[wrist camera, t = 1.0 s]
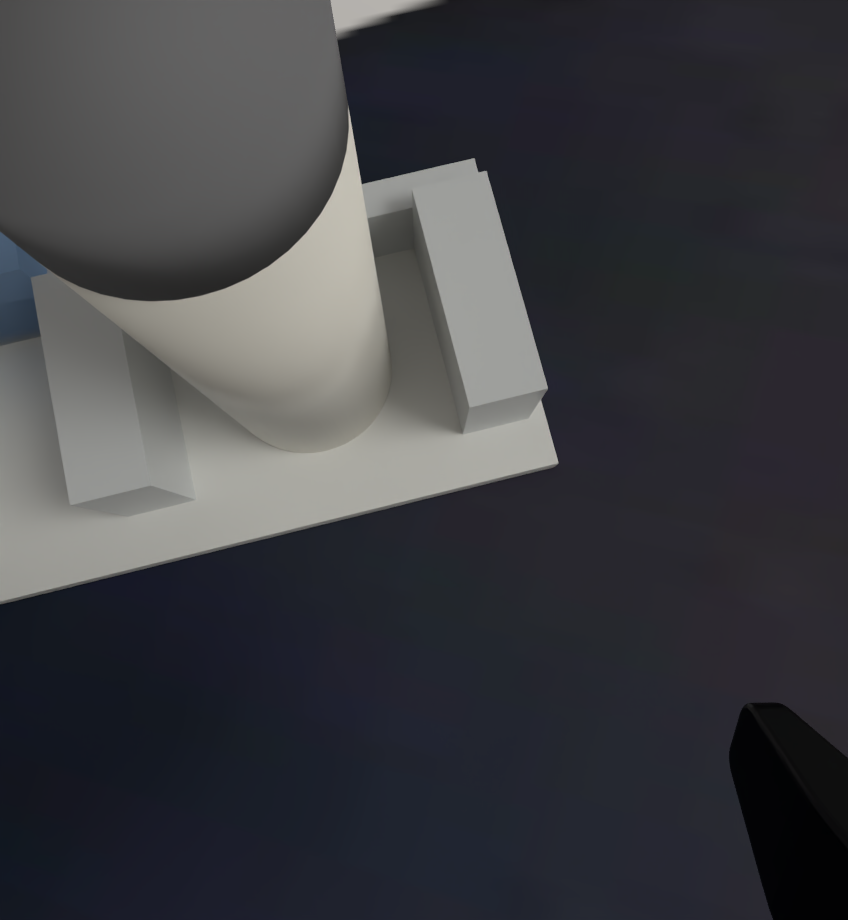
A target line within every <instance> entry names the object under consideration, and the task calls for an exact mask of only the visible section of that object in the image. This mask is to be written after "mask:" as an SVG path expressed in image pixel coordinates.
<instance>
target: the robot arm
mask: <svg viewBox="0 0 848 920" xmlns="http://www.w3.org/2000/svg"><path fill="white" fill-rule="evenodd" d="M729 763H730V769H731V773H732V777H733V781H734V784H735V788H736V792H737V795H738V799H739V802H740V806H741V810H742V813H743V817H744V821H745V824H746V828H747V832H748V835H749V839H750V843H751V846H752V850H753V853H754V857H755V861H756V864H757V868H758V872H759V875H760V879H761V883H762V886H763V889H764V893H765V896H766V900H767V903H768V906H769V909H770V912H771V915H772V918H773V920H848V758H847V757H846V756H845V755H843V754H842V753H841V752H840V751H839V750H838V749H836V748H835V747H834V746H833V745H832V744H830V743H829V742H828V741H827V740H826V739H825V738H823V737H822V736H821V735H820V734H819V733H818V732H816V731H815V730H814V729H813V728H812V727H810V726H809V725H808V724H807V723H806V722H805V721H803V720H802V719H801V718H800V717H799V716H798V715H796V714H795V713H794V712H793V711H792V710H790V709H789V708H788V707H786V706H784V705H783V704H780V703H749V704H746V705H745V706H744V707H743V708H742V710H741V712H740V715H739V719H738V722H737V726H736V729H735V733H734V736H733V739H732V743H731V746H730V751H729Z"/></svg>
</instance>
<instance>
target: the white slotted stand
mask: <svg viewBox="0 0 848 920" xmlns="http://www.w3.org/2000/svg"><path fill="white" fill-rule="evenodd" d="M362 190H363V196H364V202H365V208H366V214H367V220H368V225H369V231H370V237H371V243H372V249H373V255H374V261H375V267H376V273H377V278H378V284H379V290H380V296H381V302H382V308H383V314H384V320H385V325H386V331H387V337H388V343H389V349H390V355H391V361H392V378H391V385H390V389H389V394H388V396H387V399H386V401H385V404H384V406H383V408H382V409H381V411H380V413H379V414H378V416H377V417H376V419H375V420H374V421H373V423H372V424H371V425H370V426H369V427H368V428H367V429H366V430H365V431H364V432H362V433H361V434H360V435H359V436H358V437H356V438H354V439H353V440H351V441H350V442H348V443H346V444H344V445H342V446H339V447H337V448H334V449H331V450H328V451H322V452H317V453H296V452H290V451H285V450H282V449H279V448H276V447H273V446H271V445H269V444H267V443H265V442H263V441H262V440H260V439H259V438H258V437H256V436H255V435H253V434H252V433H251V432H250V431H248V430H247V429H246V428H245V427H243V426H242V425H241V424H240V423H238V422H237V421H236V420H235V419H233V418H232V417H231V416H230V415H228V414H227V413H226V412H225V411H223V410H222V409H221V408H220V407H218V406H217V405H216V404H215V403H213V402H212V401H211V400H210V399H208V398H207V397H206V396H205V395H203V394H202V393H201V392H200V391H198V390H197V389H196V388H195V387H193V386H192V385H191V384H190V383H188V382H187V381H186V380H185V379H183V378H182V377H181V376H180V375H178V374H177V373H176V372H175V371H173V370H172V369H171V368H170V367H168V366H167V365H166V364H165V363H164V362H162V361H161V360H160V359H159V358H157V357H156V356H155V355H154V354H152V353H151V352H150V351H149V350H147V349H146V348H145V347H144V346H142V345H141V344H140V343H139V342H137V341H136V340H135V339H134V338H132V337H131V336H130V335H129V334H127V333H126V332H125V331H124V330H122V329H121V328H120V327H119V326H117V325H116V324H115V323H114V322H112V321H111V320H110V319H109V318H107V317H106V316H105V315H104V314H102V313H101V312H100V311H99V310H97V309H96V308H95V307H94V306H92V305H91V304H90V303H89V302H87V301H86V300H85V299H84V298H82V297H81V296H80V295H79V294H77V293H76V292H75V291H74V290H72V289H71V288H70V287H69V286H67V285H66V284H65V283H64V282H62V281H61V280H60V279H59V278H57V277H56V276H55V275H54V274H52V273H51V272H50V271H49V270H47V269H46V268H45V267H44V266H42V265H41V264H40V263H39V262H37V261H36V260H35V259H34V258H32V257H31V256H30V255H29V254H27V253H26V252H25V251H24V250H22V249H21V248H20V247H19V246H17V245H16V244H15V243H14V242H12V241H11V240H10V239H9V238H8V237H6V236H5V235H4V234H3V233H1V232H0V604H4V603H8V602H12V601H16V600H20V599H24V598H28V597H33V596H37V595H41V594H45V593H49V592H53V591H57V590H61V589H65V588H69V587H73V586H77V585H81V584H85V583H89V582H93V581H97V580H101V579H105V578H109V577H113V576H117V575H121V574H125V573H129V572H133V571H137V570H141V569H145V568H149V567H153V566H157V565H161V564H166V563H170V562H174V561H178V560H182V559H186V558H190V557H194V556H198V555H202V554H206V553H210V552H214V551H218V550H222V549H226V548H230V547H234V546H238V545H242V544H246V543H250V542H254V541H258V540H262V539H266V538H270V537H274V536H278V535H282V534H286V533H290V532H294V531H299V530H303V529H307V528H311V527H315V526H319V525H323V524H327V523H331V522H335V521H339V520H343V519H347V518H351V517H355V516H359V515H363V514H367V513H371V512H375V511H379V510H383V509H387V508H391V507H395V506H399V505H403V504H407V503H411V502H415V501H419V500H423V499H427V498H432V497H436V496H440V495H444V494H448V493H452V492H456V491H460V490H464V489H468V488H472V487H476V486H480V485H484V484H488V483H492V482H496V481H500V480H504V479H508V478H512V477H516V476H520V475H524V474H528V473H532V472H536V471H540V470H544V469H548V468H552V467H555V466H556V465H557V464H558V459H557V456H556V452H555V449H554V445H553V442H552V438H551V434H550V431H549V427H548V424H547V420H546V417H545V413H544V409H543V406H542V402H541V398H542V397H543V395H544V394H545V392H546V391H547V389H548V387H547V383H546V380H545V376H544V373H543V369H542V366H541V362H540V359H539V355H538V352H537V348H536V345H535V341H534V338H533V334H532V330H531V327H530V323H529V320H528V316H527V313H526V309H525V306H524V302H523V299H522V295H521V292H520V288H519V285H518V281H517V277H516V274H515V270H514V267H513V263H512V260H511V256H510V253H509V249H508V246H507V242H506V239H505V235H504V232H503V228H502V225H501V221H500V217H499V214H498V210H497V207H496V203H495V200H494V196H493V193H492V189H491V186H490V182H489V179H488V175H487V172H486V171H484V172H480V173H478V170H477V166H476V163H475V159H474V158H473V159H469V160H465V161H460V162H456V163H452V164H448V165H443V166H439V167H435V168H430V169H426V170H422V171H418V172H413V173H409V174H405V175H400V176H396V177H392V178H387V179H383V180H379V181H375V182H370V183H366V184H362Z"/></svg>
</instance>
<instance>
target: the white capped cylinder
mask: <svg viewBox="0 0 848 920" xmlns="http://www.w3.org/2000/svg"><path fill="white" fill-rule="evenodd" d="M0 232H1V233H3V234H4V235H5V236H6V237H8V238H9V239H10V240H11V241H12V242H14V243H15V244H16V245H17V246H19V247H20V248H21V249H22V250H24V251H25V252H26V253H27V254H29V255H30V256H31V257H32V258H34V259H35V260H36V261H37V262H39V263H40V264H41V265H42V266H44V267H45V268H46V269H47V270H49V271H50V272H51V273H52V274H54V275H55V276H56V277H57V278H59V279H60V280H61V281H62V282H64V283H65V284H66V285H67V286H69V287H70V288H71V289H72V290H74V291H75V292H76V293H77V294H79V295H80V296H81V297H82V298H84V299H85V300H86V301H87V302H89V303H90V304H91V305H92V306H94V307H95V308H96V309H97V310H99V311H100V312H101V313H102V314H104V315H105V316H106V317H107V318H109V319H110V320H111V321H112V322H114V323H115V324H116V325H117V326H119V327H120V328H121V329H122V330H124V331H125V332H126V333H127V334H129V335H130V336H131V337H132V338H134V339H135V340H136V341H137V342H139V343H140V344H141V345H142V346H144V347H145V348H146V349H147V350H149V351H150V352H151V353H152V354H154V355H155V356H156V357H157V358H159V359H160V360H161V361H162V362H164V363H165V364H166V365H167V366H168V367H170V368H171V369H172V370H173V371H175V372H176V373H177V374H178V375H180V376H181V377H182V378H183V379H185V380H186V381H187V382H188V383H190V384H191V385H192V386H193V387H195V388H196V389H197V390H198V391H200V392H201V393H202V394H203V395H205V396H206V397H207V398H208V399H210V400H211V401H212V402H213V403H215V404H216V405H217V406H218V407H220V408H221V409H222V410H223V411H225V412H226V413H227V414H228V415H230V416H231V417H232V418H233V419H235V420H236V421H237V422H238V423H240V424H241V425H242V426H243V427H245V428H246V429H247V430H248V431H250V432H251V433H252V434H253V435H255V436H256V437H258V438H259V439H260V440H262V441H263V442H265V443H267V444H269V445H271V446H273V447H276V448H279V449H282V450H285V451H290V452H296V453H317V452H322V451H328V450H331V449H334V448H337V447H339V446H342V445H344V444H346V443H348V442H350V441H351V440H353V439H354V438H356V437H358V436H359V435H360V434H361V433H362V432H364V431H365V430H366V429H367V428H368V427H369V426H370V425H371V424H372V423H373V421H374V420H375V419H376V417H377V416H378V414H379V413H380V411H381V409H382V408H383V406H384V404H385V401H386V399H387V396H388V394H389V389H390V385H391V378H392V361H391V355H390V349H389V343H388V337H387V331H386V325H385V320H384V314H383V308H382V302H381V296H380V290H379V284H378V278H377V273H376V267H375V261H374V255H373V249H372V243H371V237H370V231H369V225H368V220H367V214H366V208H365V202H364V196H363V190H362V184H361V178H360V173H359V167H358V161H357V155H356V149H355V143H354V137H353V131H352V125H351V120H350V114H349V108H348V102H347V96H346V90H345V84H344V78H343V73H342V67H341V61H340V55H339V49H338V43H337V37H336V31H335V26H334V20H333V14H332V8H331V2H330V0H0Z"/></svg>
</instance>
